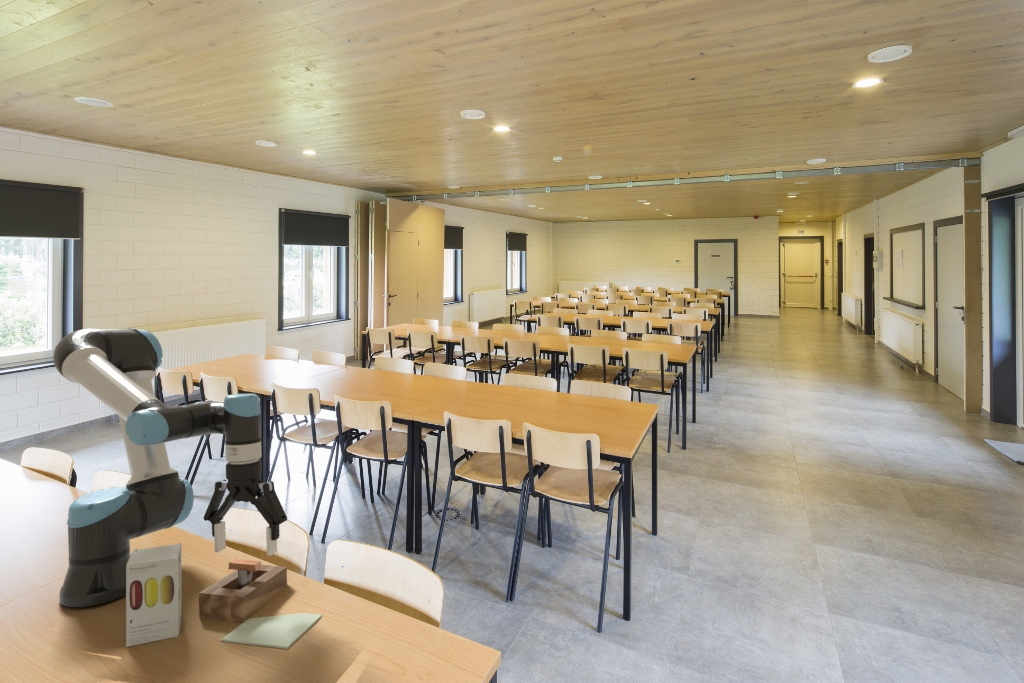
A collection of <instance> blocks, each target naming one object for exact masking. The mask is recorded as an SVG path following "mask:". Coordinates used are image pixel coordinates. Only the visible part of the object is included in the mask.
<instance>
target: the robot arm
mask: <svg viewBox="0 0 1024 683" xmlns="http://www.w3.org/2000/svg"><path fill="white" fill-rule="evenodd" d="M163 354H164V353H163V348H162V345H161V343H160V340H159V338H157V336H155V335H154V333H152V332H150V331H148V330H147V329H146V330H145V329H139V328H131V327H130V328H83V329H78V330H74V331H72V332H70V333H68V334H67V335H65V336H63V337H62V338H61V339H60V340H59V341H58V343H57V345H56V346H55V348H54V350H53V355H52V358H53V364H54V366H55V369H56V371H57V372H58V373H59V374H60V375H61V376H62V377H64V378H65V379H66V380H67V381H69V382H71V383H74V384H80V385H81V386H82V387H83V388H85V389H86V390H87V391H88V392H90V393H91V395H93V396H94V397H96V398H97V399H98V400H99V401H100V402H102V404H104V405H106V407H108V408H109V409H110V410H112V411H113V412H114V413H115V414H117V415H118V419H119V424H120V428H121V434H122V439H123V443H124V448H125V453H126V457H127V462H128V466H129V467H128V468H129V472H130V478H129V480H128V481H127V482H126V484H125V487H123V486H114V487H113V486H112V487H109V488H106V489H105V488H103V489H97V490H95V491H91V492H89V493H85V494H84V495H81V496H79V497H78V498H76V499H75V500H73V502H72V503H70V505H69V507H68V513H67V521H66V524H67V530H68V531H67V536H68V537H67V538H68V568H67V571H66V574H65V576H64V580H63V582H62V586H61V588H60V590H59V603H60V604H61V605H62V606H64V607H70V608H83V607H90V606H91V607H92V606H97V605H100V604H105V603H108V602H112V601H116V600H118V599H121V598H123V597H126V565H127V563H128V560H129V558H130V556H131V542H130V541H131V540H133V539H135V538H139V537H143V536H146V535H149V534H153V533H155V532H158V531H162V530H165V529H166V530H167V529H170V528H172V527H173V526H176V525H178V524H181V523H183V522H184V521H186V520H187V519H188V517H189V516H190V514H191V511H192V510H193V507H194V502H195V501H194V500H195V497H194V496H195V495H194V490H193V487H192V484H191V483H189V480H188V479H186V478H184V477H183V478H182V477H180V474H179V472H178V470H176V469H174V468H172V467H171V466H170V465H171V464H170V461H169V457H168V453H167V447H166V443H167V442H173V441H177V440H183V439H184V440H185V439H188V438H195V437H200V436H208V435H213V434H215V435H217V434H219V435H224V443H225V445H224V446H225V461H226V462H227V463H226V464H225V478H226V479H222V480H218V481H216V482H215V483H214V491H213V494H212V496H211V499H210V501H209V503H208V506H207V509H206V510H205V513H204V515H203V520H204V521H205V522H206V521H208V522H210V524H211V535H212V537H213V538H214V553H220V552H222V551H224V550H225V549H226V548H227V544H226V543H227V541H226V537H227V536H226V535H227V533H226V520H224V517H225V516H226V515H227V513H228V512H229V511H230V509H231V508H232V507H233V505H234V504H235V502H237V503H239V502H244V503H250V504H251V505H253V506H255V508H256V509H257V512H259V513H260V515H261V516H262V518H263V519H264V520H265V521H266V522H267V525H268V526H266V530H265V532H266V533H265V535H266V537H265V538H266V556H268V557H271V556H272V555H274V554H276V553H277V552H278V539H279V538H280V525H281V524H283V523H285V522H287V520H288V516H287V514H286V512H285V510H284V507H283V506H282V504H281V501H280V499H279V497H278V495H277V492H276V489H275V483H274V481H273V480H270V481H268V482H262V480H261V477H262V473H263V472H262V471H263V470H262V468H263V467H262V465H263V464H262V460H261V459H260V458H262V455H263V454H262V433H261V432H262V428H261V427H262V426H261V423H262V422H261V421H262V419H261V413H262V410H261V402H260V397H259V395H257V394H256V393H235V394H228V395H226V396H225V397H224V401H221V402H220V401H214V400H206V401H205V400H204V401H198V402H197V401H196V402H195V403H192V404H191V403H190V404H184V405H183V404H182V405H176V406H175V405H174V406H168V405H166V403H164V402H162V401H161V400H159V399H158V398H157V397H156V395H155V392H154V388H153V383H152V380H153V379H154V378H155V377H156V376H157V369H159V367H160V366H161V365H162V363H163V360H162V358H163V356H164V355H163ZM226 491H228V494H227V496H225V494H226ZM224 496H225V499H224V500H223V498H224ZM222 501H223V502H222ZM221 503H222V504H221Z"/></svg>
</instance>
